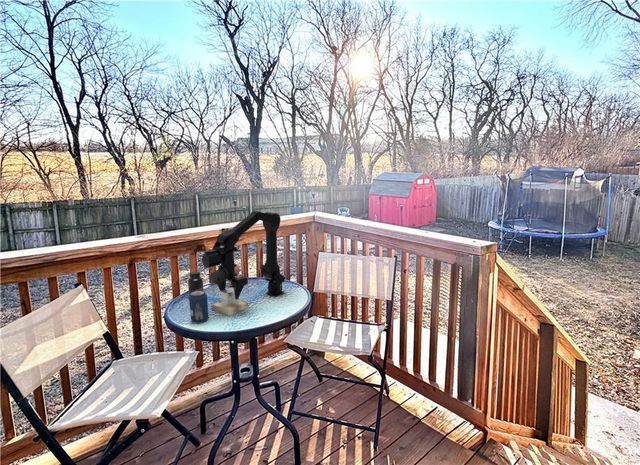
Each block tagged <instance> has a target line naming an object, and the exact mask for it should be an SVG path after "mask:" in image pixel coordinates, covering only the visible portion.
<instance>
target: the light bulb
mask: <svg viewBox="0 0 640 465" xmlns="http://www.w3.org/2000/svg"><path fill="white" fill-rule="evenodd" d="M240 272H241V268H240V266H239V265H238V264H237V267H235V273H237V276H235V278H236V277H239V275H240ZM229 284H230V286H232V284H231V281H229Z"/></svg>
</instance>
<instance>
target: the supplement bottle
mask: <svg viewBox="0 0 640 465" xmlns="http://www.w3.org/2000/svg"><path fill="white" fill-rule="evenodd" d="M187 289H188V298H189V297H190V293H191V292H193V291H196V290H203V291H205V290H204V289H205V288H204V279H203V277H202V276H201V271H197V270H194V271H190V272H189V278H188V280H187Z"/></svg>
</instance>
